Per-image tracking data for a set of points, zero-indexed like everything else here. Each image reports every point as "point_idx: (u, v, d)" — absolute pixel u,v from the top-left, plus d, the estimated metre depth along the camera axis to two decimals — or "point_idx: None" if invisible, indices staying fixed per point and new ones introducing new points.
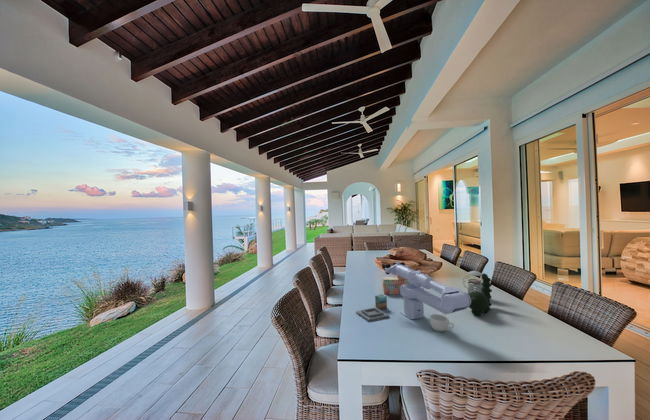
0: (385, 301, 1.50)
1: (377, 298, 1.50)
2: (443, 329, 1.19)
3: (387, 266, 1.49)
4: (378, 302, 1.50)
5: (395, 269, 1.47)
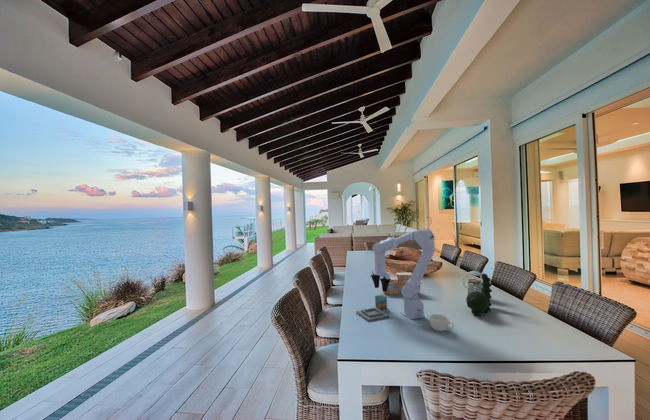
0: (385, 301, 1.50)
1: (377, 298, 1.50)
2: (443, 329, 1.19)
3: (383, 279, 1.46)
4: (378, 302, 1.50)
5: (382, 271, 1.48)
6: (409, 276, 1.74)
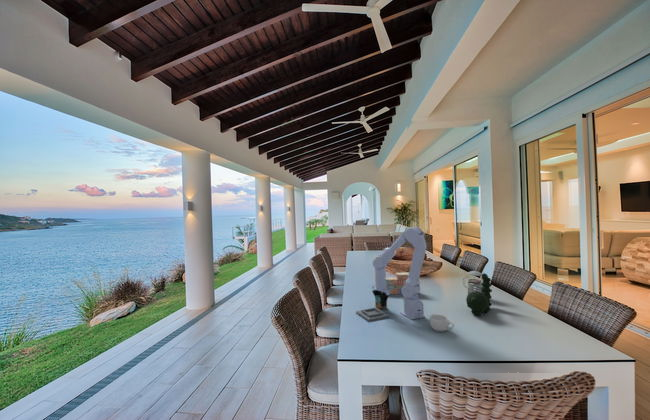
0: None
1: (377, 298, 1.50)
2: (443, 329, 1.19)
3: (382, 294, 1.47)
4: (378, 302, 1.50)
5: (382, 287, 1.49)
6: None
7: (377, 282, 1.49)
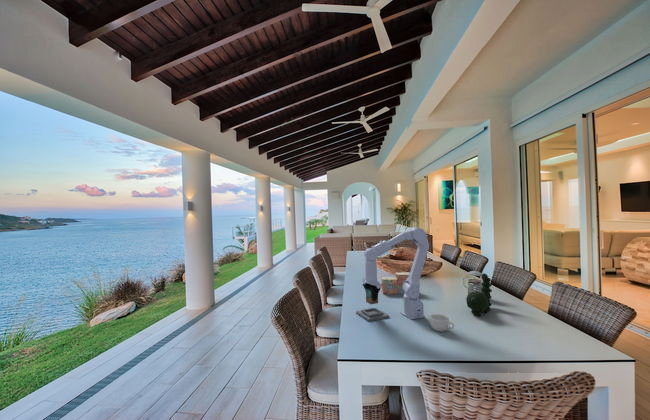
0: None
1: (368, 292, 1.40)
2: (443, 329, 1.19)
3: (373, 287, 1.36)
4: (369, 296, 1.39)
5: (373, 279, 1.38)
6: (408, 276, 1.74)
7: (367, 275, 1.39)
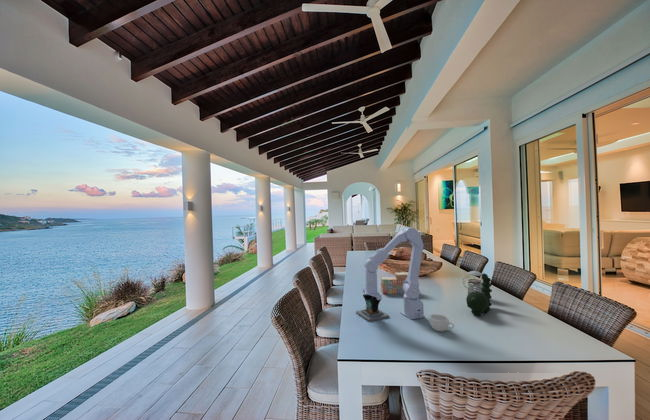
0: None
1: (368, 303, 1.40)
2: (443, 329, 1.19)
3: (373, 298, 1.36)
4: (369, 307, 1.39)
5: (373, 291, 1.38)
6: None
7: (368, 286, 1.39)
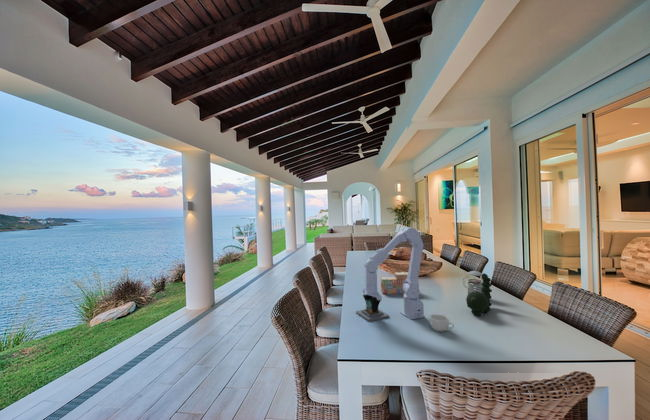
0: None
1: (368, 303, 1.40)
2: (443, 329, 1.19)
3: (373, 299, 1.36)
4: (369, 307, 1.39)
5: (373, 291, 1.38)
6: None
7: (368, 286, 1.39)
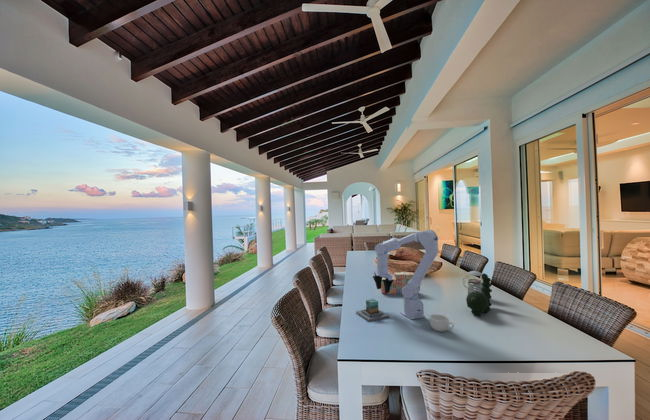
0: (376, 306, 1.39)
1: (368, 303, 1.40)
2: (443, 329, 1.19)
3: (386, 280, 1.44)
4: (369, 307, 1.39)
5: (384, 272, 1.47)
6: (407, 276, 1.75)
7: (379, 267, 1.48)
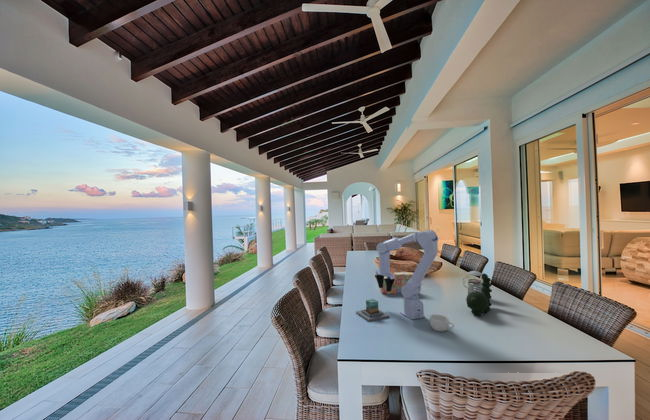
0: (376, 306, 1.39)
1: (368, 303, 1.40)
2: (443, 329, 1.19)
3: (387, 279, 1.45)
4: (369, 307, 1.39)
5: (386, 271, 1.48)
6: (407, 276, 1.75)
7: (381, 267, 1.49)
